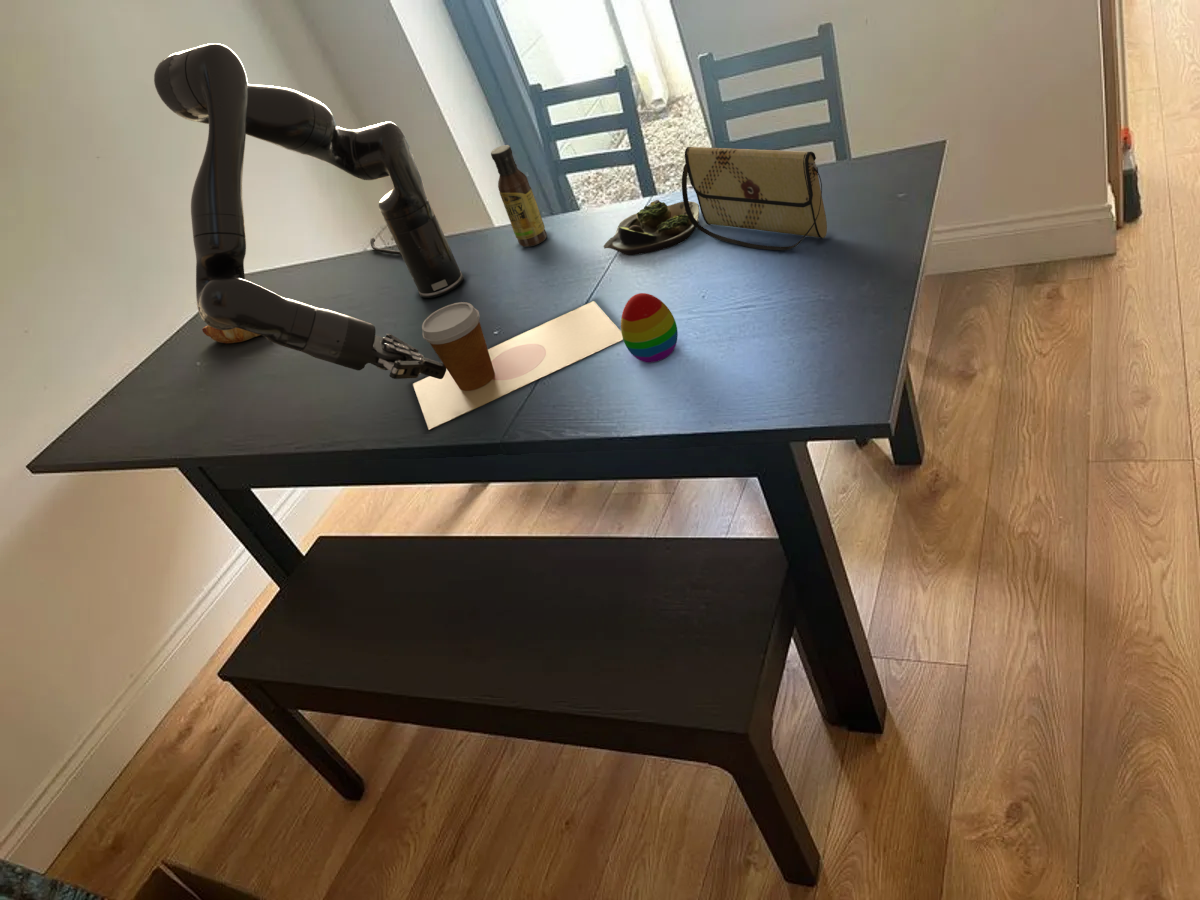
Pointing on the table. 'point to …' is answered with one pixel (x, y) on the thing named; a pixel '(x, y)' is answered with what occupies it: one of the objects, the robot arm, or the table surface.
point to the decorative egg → (648, 328)
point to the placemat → (521, 362)
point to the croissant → (228, 334)
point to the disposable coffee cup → (460, 344)
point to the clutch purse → (756, 192)
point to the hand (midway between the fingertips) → (443, 372)
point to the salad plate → (654, 228)
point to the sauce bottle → (518, 199)
